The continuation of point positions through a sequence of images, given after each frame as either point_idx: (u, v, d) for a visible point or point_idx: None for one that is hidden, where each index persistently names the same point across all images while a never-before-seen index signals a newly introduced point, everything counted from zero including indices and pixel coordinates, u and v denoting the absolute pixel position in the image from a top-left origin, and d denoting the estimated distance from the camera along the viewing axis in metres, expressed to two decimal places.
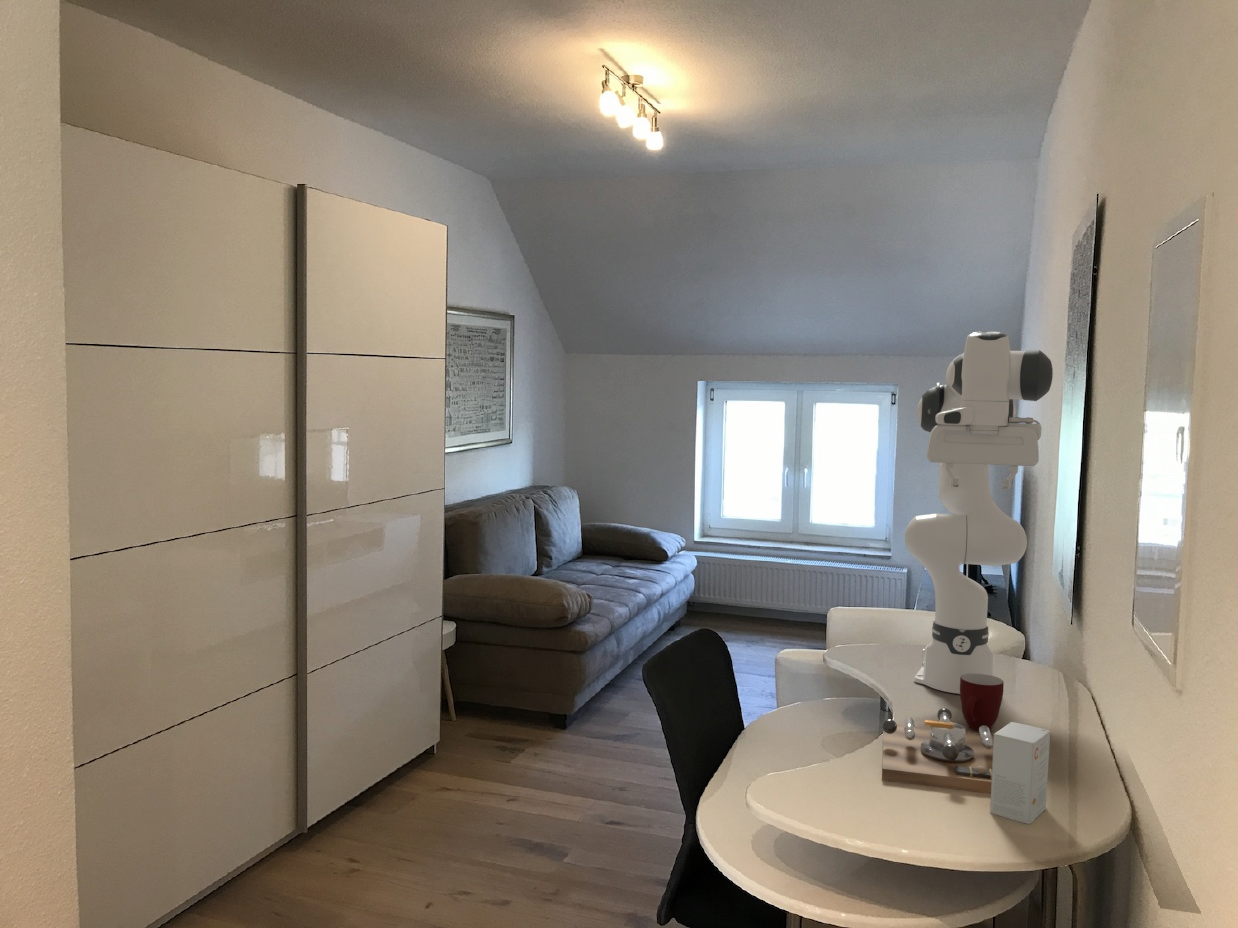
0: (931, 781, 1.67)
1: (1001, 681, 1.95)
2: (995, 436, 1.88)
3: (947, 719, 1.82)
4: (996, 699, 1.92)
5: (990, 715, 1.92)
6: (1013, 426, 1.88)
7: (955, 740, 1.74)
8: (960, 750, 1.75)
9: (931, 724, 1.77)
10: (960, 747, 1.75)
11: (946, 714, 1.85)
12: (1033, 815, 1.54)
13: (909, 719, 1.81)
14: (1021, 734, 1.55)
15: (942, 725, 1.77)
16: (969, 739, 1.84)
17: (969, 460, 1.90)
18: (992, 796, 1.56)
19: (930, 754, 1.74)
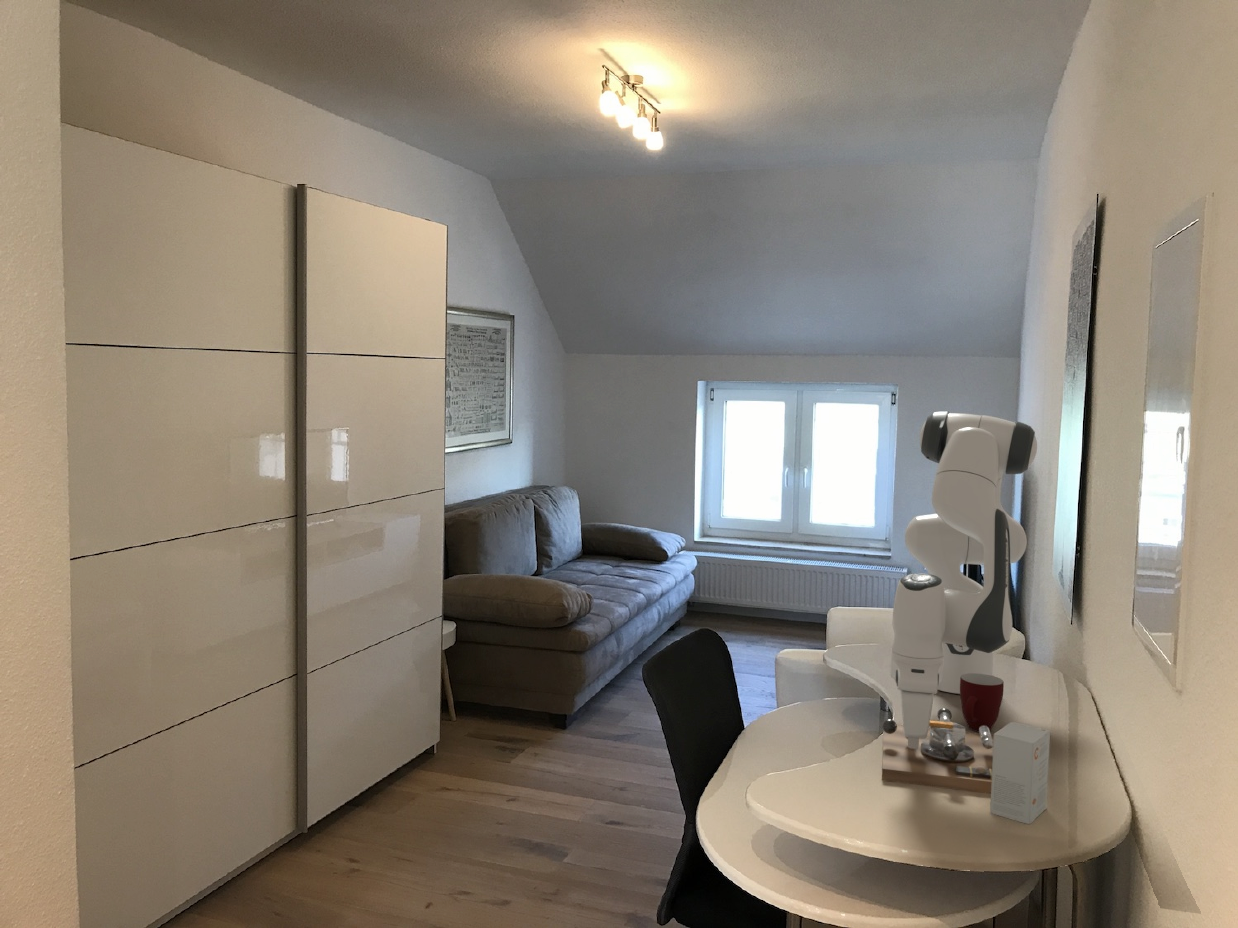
0: (931, 781, 1.67)
1: (1001, 681, 1.95)
2: None
3: (947, 719, 1.82)
4: (996, 699, 1.92)
5: (990, 715, 1.92)
6: None
7: (955, 740, 1.74)
8: (960, 750, 1.75)
9: (931, 724, 1.77)
10: (960, 747, 1.75)
11: (946, 714, 1.85)
12: (1033, 815, 1.54)
13: None
14: (1021, 734, 1.55)
15: (942, 725, 1.77)
16: (969, 739, 1.84)
17: None
18: (992, 796, 1.56)
19: (930, 754, 1.74)
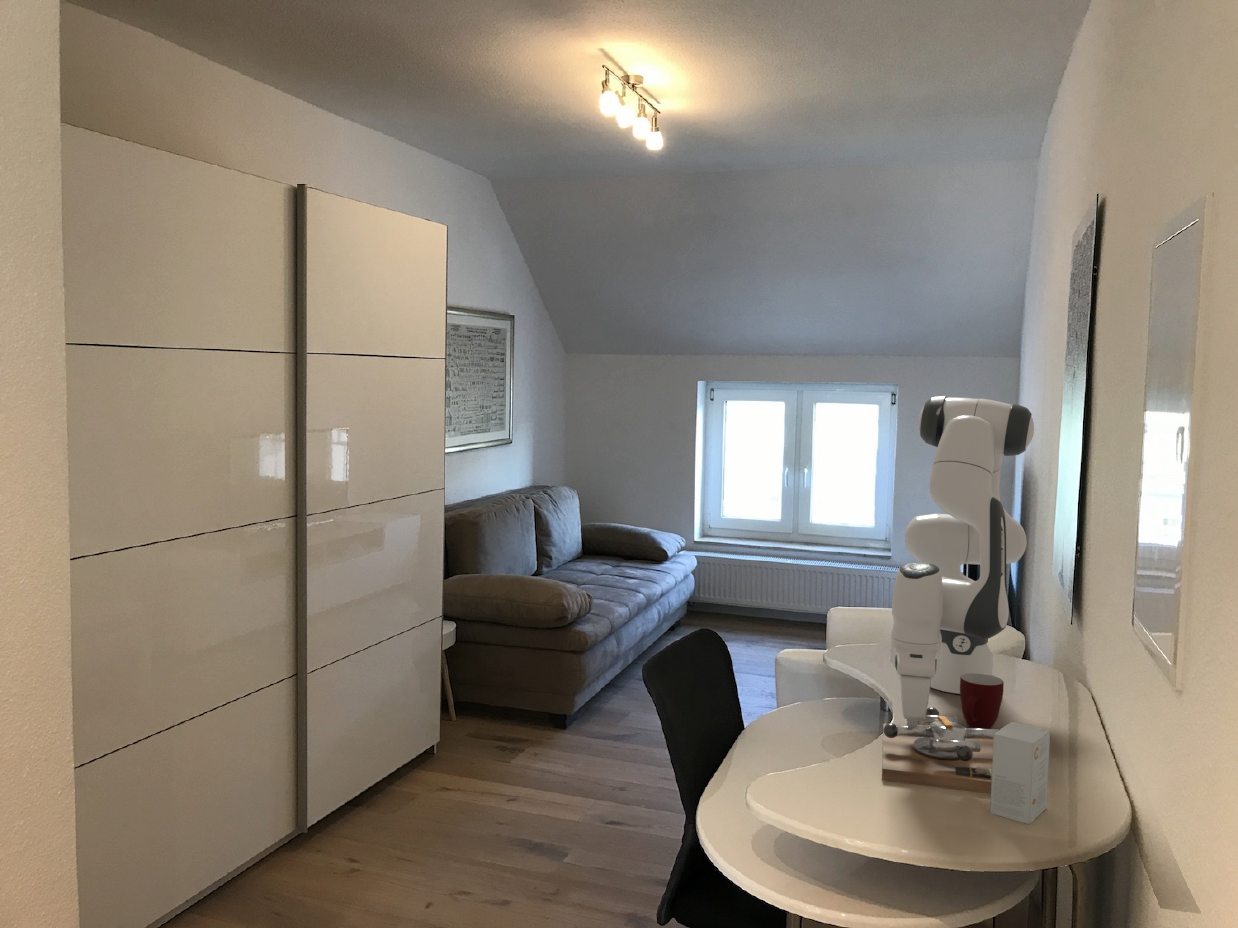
0: (931, 781, 1.67)
1: (1001, 681, 1.95)
2: None
3: (975, 729, 1.77)
4: (996, 699, 1.92)
5: (990, 715, 1.92)
6: None
7: (933, 736, 1.76)
8: None
9: (939, 719, 1.80)
10: None
11: (992, 730, 1.77)
12: (1033, 815, 1.54)
13: (950, 716, 1.84)
14: (1021, 734, 1.55)
15: (942, 723, 1.78)
16: (969, 739, 1.84)
17: None
18: (992, 796, 1.56)
19: (916, 740, 1.81)
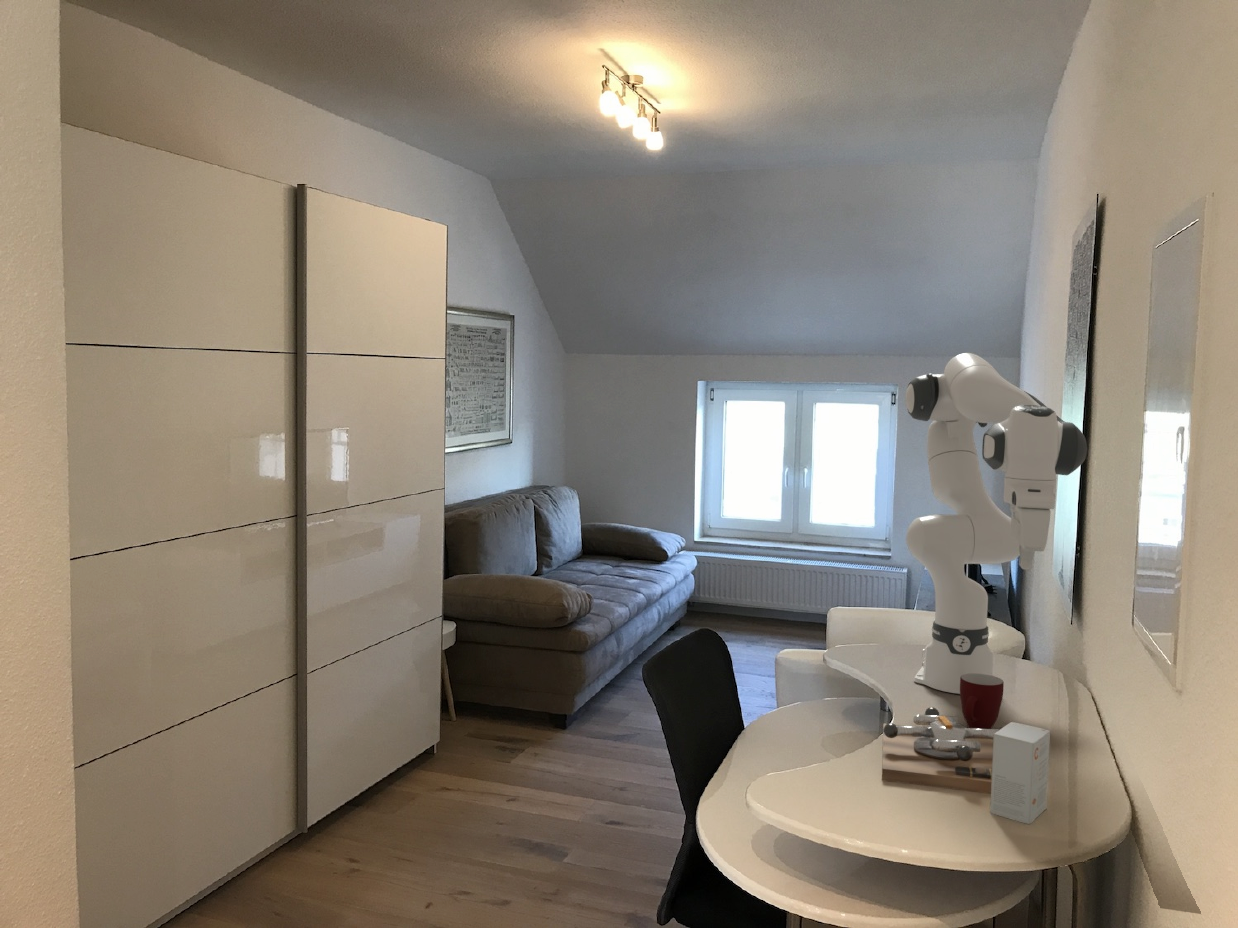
0: (931, 781, 1.67)
1: (1001, 681, 1.95)
2: None
3: (975, 729, 1.77)
4: (996, 699, 1.92)
5: (990, 715, 1.92)
6: None
7: (933, 736, 1.76)
8: None
9: (939, 719, 1.80)
10: None
11: (992, 730, 1.77)
12: (1033, 815, 1.54)
13: (950, 716, 1.84)
14: (1021, 734, 1.55)
15: (942, 723, 1.78)
16: (969, 739, 1.84)
17: None
18: (992, 796, 1.56)
19: (916, 740, 1.81)
